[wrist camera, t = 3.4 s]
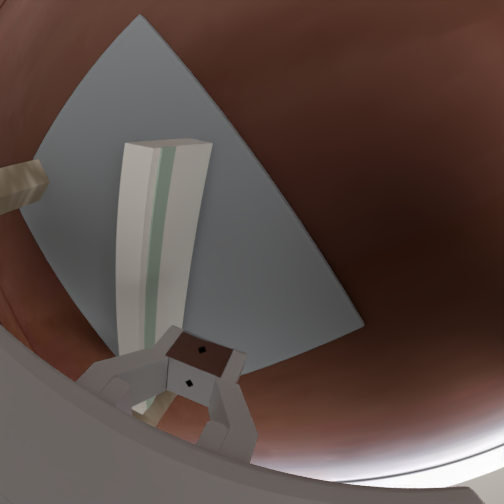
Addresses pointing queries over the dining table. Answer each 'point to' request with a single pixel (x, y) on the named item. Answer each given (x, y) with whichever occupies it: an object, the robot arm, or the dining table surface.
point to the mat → (209, 221)
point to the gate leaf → (156, 238)
